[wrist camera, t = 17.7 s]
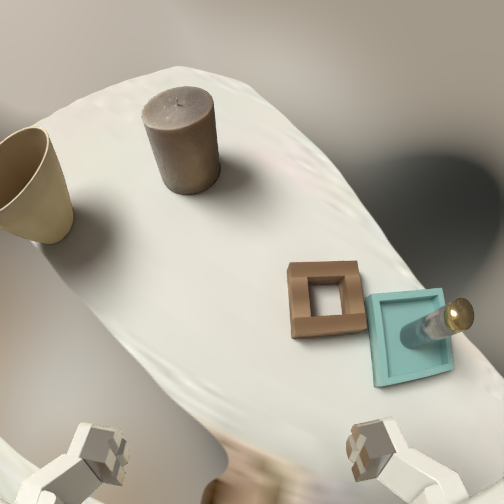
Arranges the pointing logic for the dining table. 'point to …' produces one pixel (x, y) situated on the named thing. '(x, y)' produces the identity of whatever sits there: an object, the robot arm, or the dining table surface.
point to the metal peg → (438, 324)
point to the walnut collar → (349, 295)
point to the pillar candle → (183, 138)
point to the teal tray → (388, 337)
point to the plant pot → (33, 188)
